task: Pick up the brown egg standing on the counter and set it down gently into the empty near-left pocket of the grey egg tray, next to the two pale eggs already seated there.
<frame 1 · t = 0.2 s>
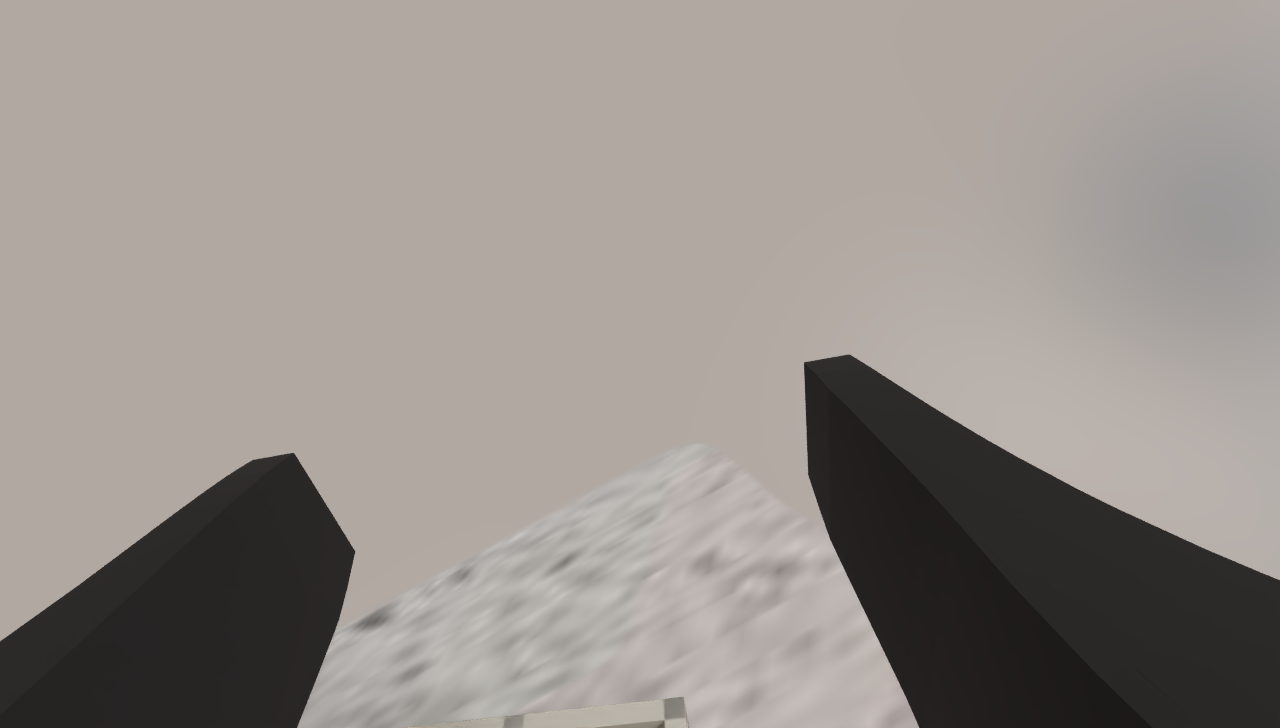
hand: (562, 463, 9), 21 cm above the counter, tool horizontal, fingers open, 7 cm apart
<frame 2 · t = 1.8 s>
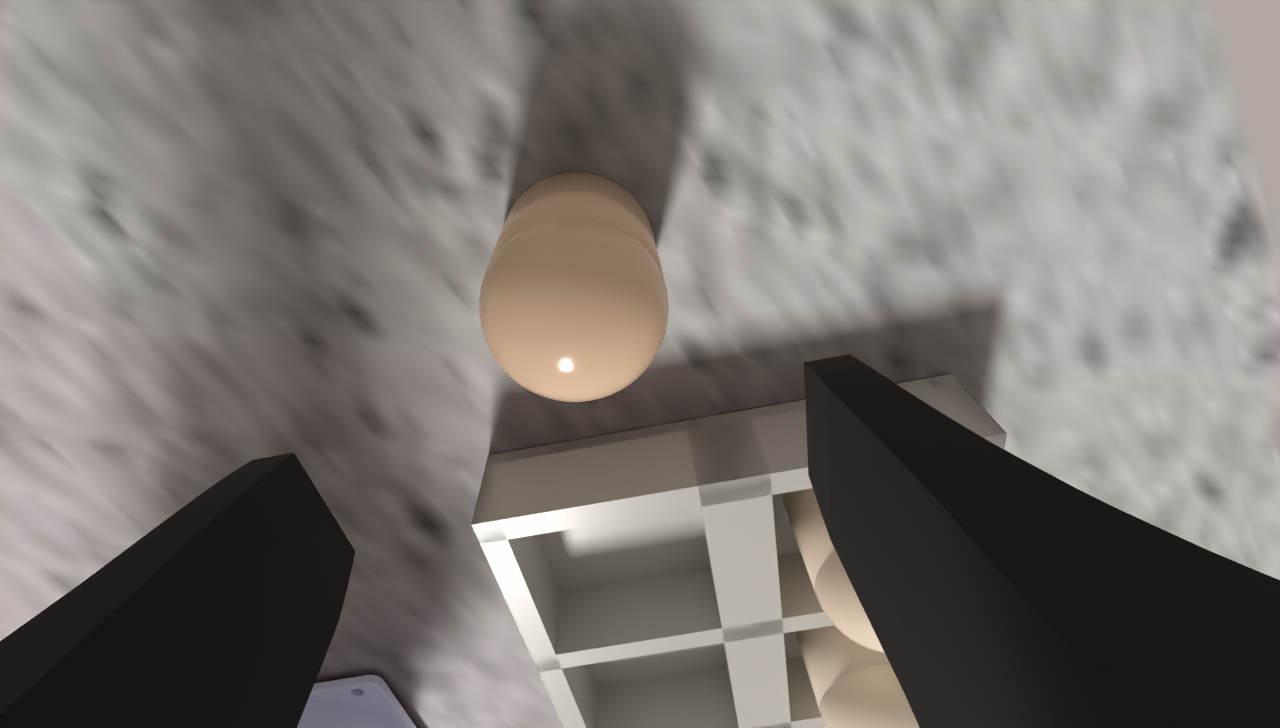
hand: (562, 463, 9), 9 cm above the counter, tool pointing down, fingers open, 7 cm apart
carton: (735, 559, 23), on the counter
egg pale a: (841, 607, 24), resting on carton
egg: (578, 248, 16), on the counter
egg pale b: (841, 488, 20), resting on carton
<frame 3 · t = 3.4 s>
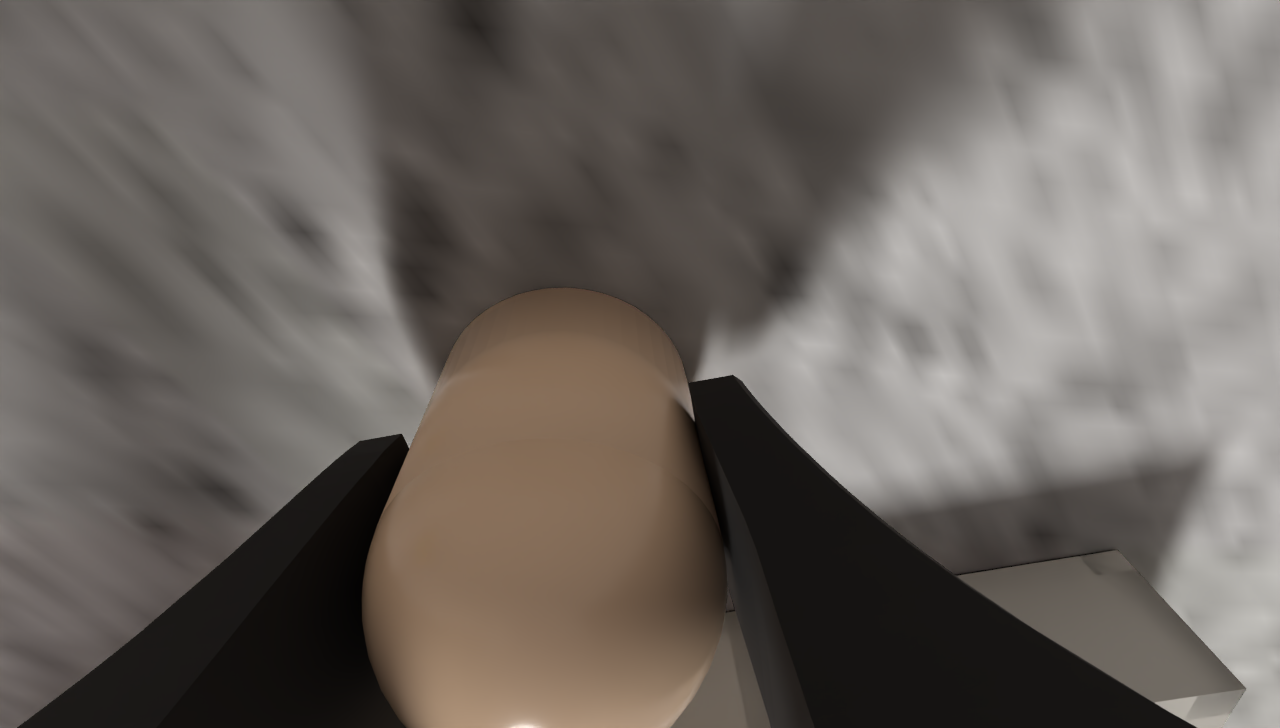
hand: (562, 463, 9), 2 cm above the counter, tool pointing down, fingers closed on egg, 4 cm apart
egg: (567, 398, 10), on the counter, touching gripper
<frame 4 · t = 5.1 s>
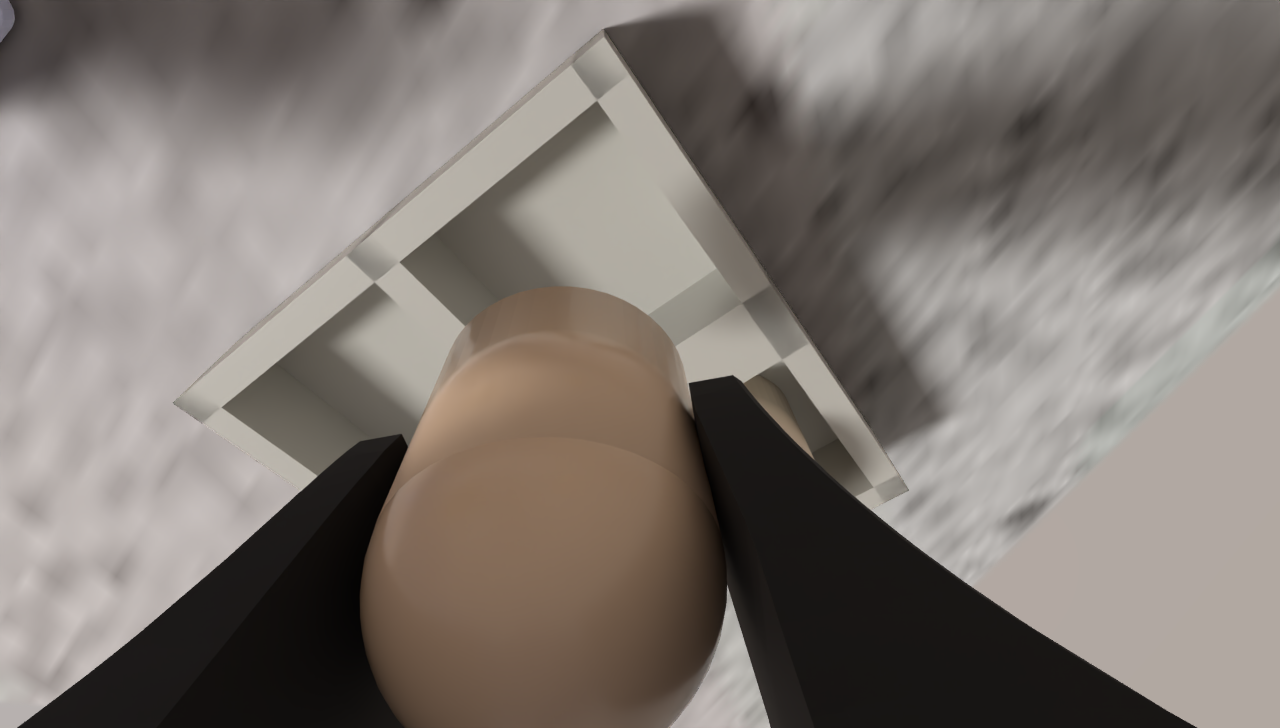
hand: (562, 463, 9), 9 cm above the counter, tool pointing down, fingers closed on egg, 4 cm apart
carton: (577, 389, 19), on the counter
egg: (566, 397, 10), point 8 cm above the counter, touching gripper
egg pale b: (728, 424, 20), resting on carton
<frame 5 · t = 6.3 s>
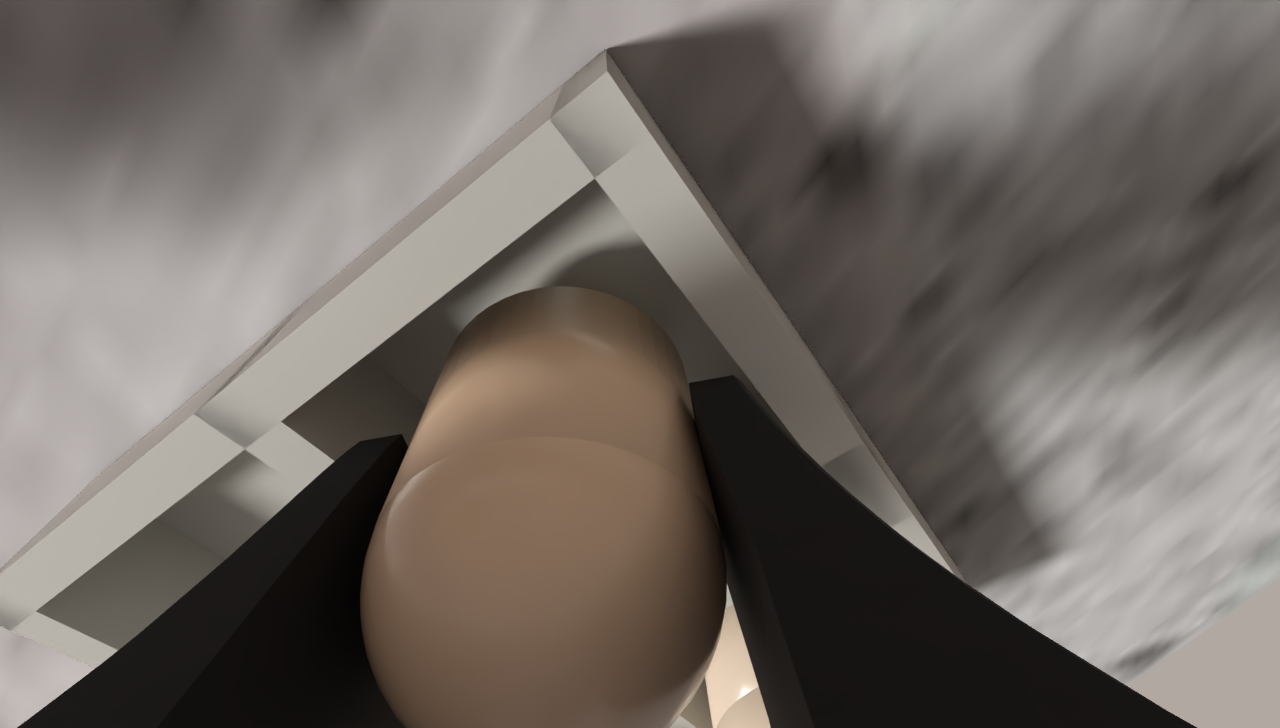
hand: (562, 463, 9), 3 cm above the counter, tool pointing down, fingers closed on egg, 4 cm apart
carton: (569, 530, 14), on the counter
egg: (566, 397, 10), point 2 cm above the counter, touching gripper
egg pale b: (773, 573, 15), resting on carton
when the fingers open (3 cm above the counter, at t = 7.0 s): egg drops 1 cm, resting on carton.
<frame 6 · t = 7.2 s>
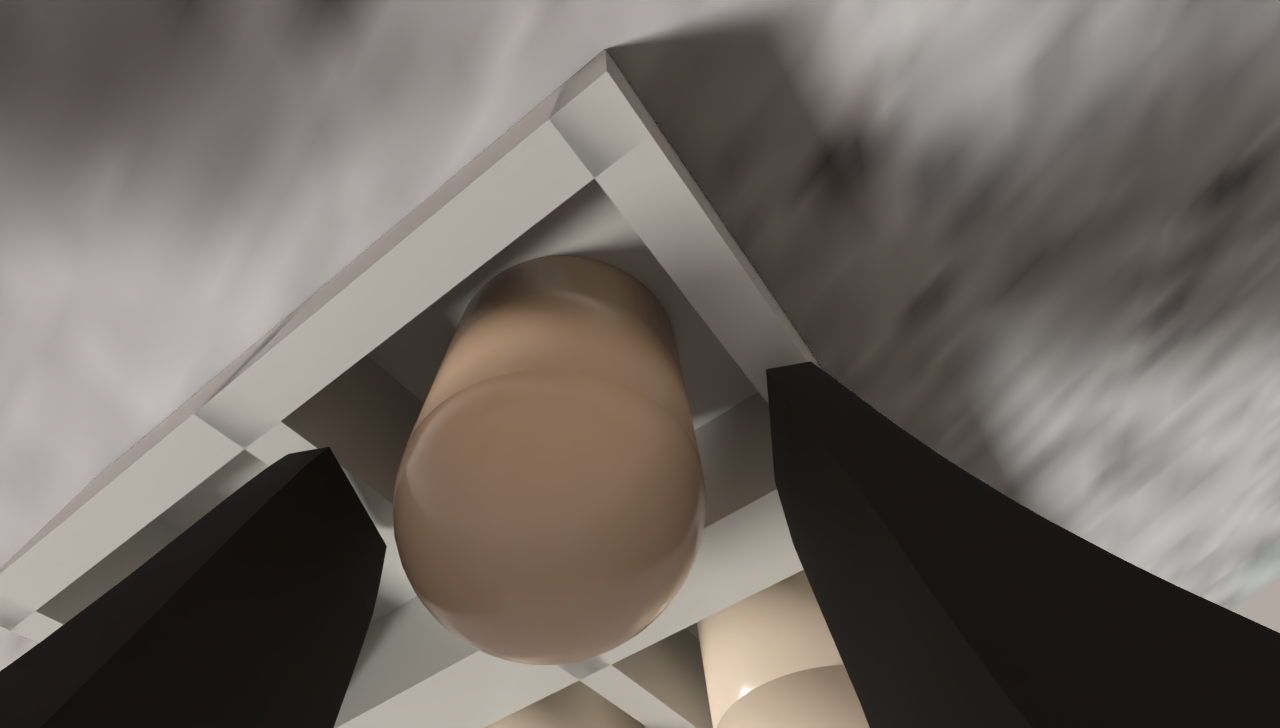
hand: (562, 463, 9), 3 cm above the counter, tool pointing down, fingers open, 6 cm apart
carton: (569, 530, 14), on the counter
egg pale a: (567, 676, 16), resting on carton
egg: (567, 358, 11), resting on carton
egg pale b: (773, 573, 15), resting on carton
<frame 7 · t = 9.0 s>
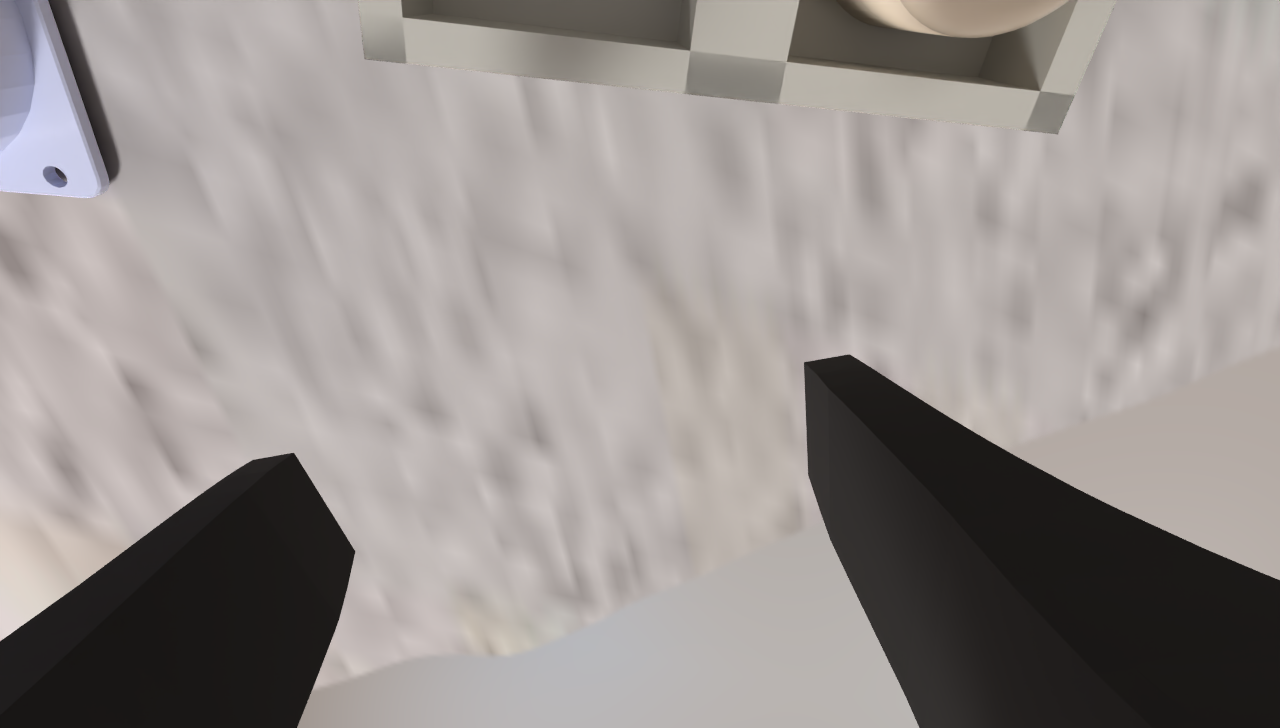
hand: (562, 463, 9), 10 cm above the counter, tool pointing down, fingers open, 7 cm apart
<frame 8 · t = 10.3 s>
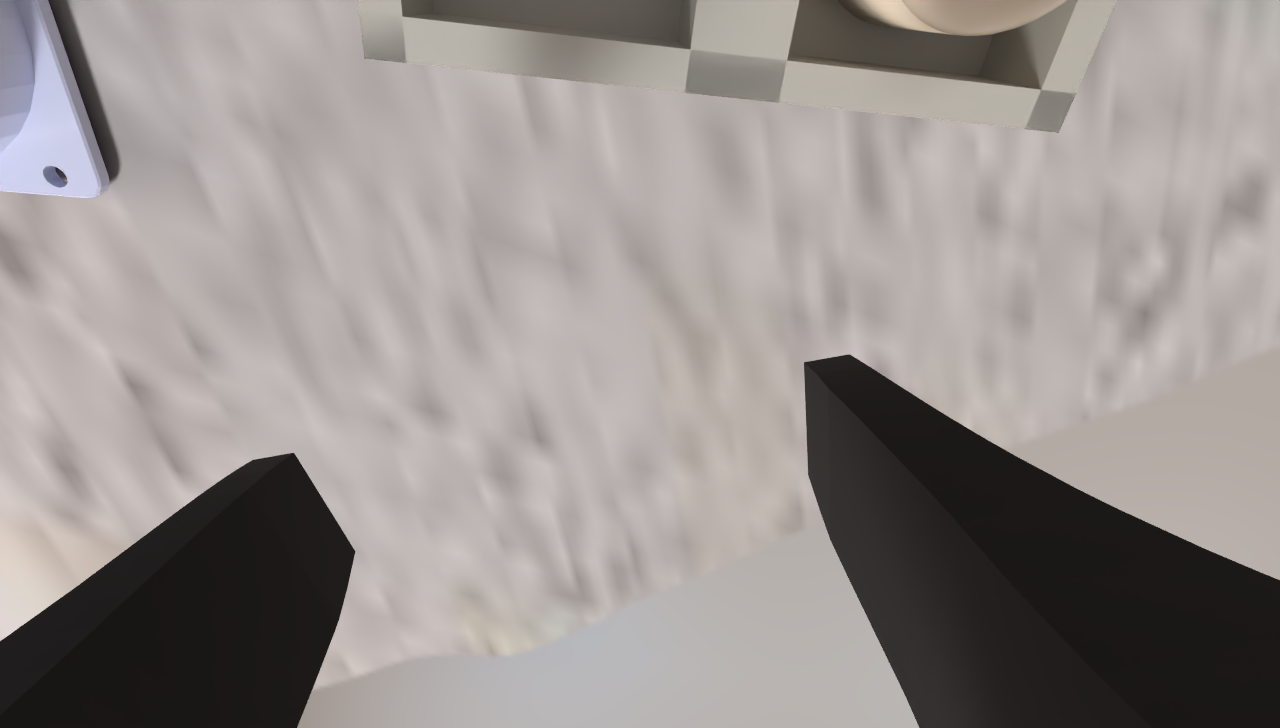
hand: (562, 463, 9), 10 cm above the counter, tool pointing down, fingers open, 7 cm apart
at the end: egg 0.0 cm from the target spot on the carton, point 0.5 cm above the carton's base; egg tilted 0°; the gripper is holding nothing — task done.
